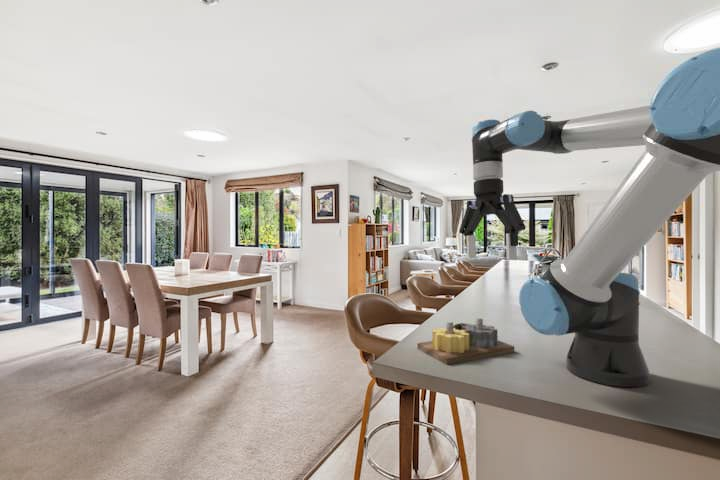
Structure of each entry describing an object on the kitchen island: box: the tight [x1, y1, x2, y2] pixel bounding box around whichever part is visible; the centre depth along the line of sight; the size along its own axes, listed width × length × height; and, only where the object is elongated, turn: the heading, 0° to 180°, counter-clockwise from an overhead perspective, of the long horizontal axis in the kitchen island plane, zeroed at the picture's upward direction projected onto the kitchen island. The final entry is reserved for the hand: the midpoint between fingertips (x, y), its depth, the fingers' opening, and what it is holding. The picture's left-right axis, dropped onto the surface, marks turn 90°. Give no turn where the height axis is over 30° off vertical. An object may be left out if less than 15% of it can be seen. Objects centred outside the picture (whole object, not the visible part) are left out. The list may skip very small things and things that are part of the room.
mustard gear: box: [432, 327, 469, 353], centre depth 92 cm, size 9×9×4 cm
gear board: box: [417, 317, 515, 365], centre depth 94 cm, size 13×22×8 cm, turn 113°
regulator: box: [453, 322, 468, 330], centre depth 108 cm, size 8×4×15 cm
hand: (490, 258), depth 93 cm, fingers open, 13 cm apart
